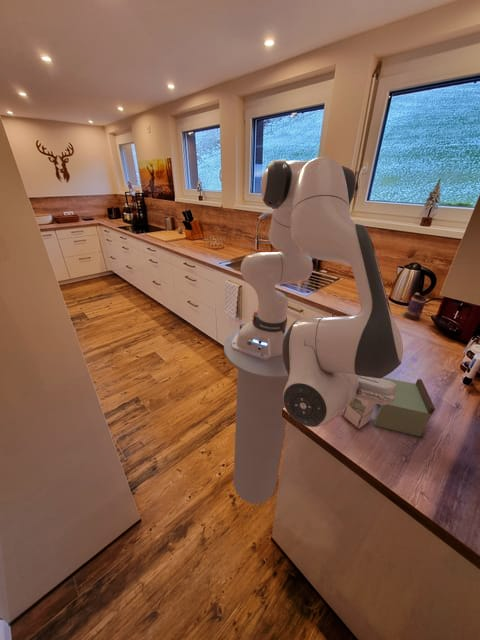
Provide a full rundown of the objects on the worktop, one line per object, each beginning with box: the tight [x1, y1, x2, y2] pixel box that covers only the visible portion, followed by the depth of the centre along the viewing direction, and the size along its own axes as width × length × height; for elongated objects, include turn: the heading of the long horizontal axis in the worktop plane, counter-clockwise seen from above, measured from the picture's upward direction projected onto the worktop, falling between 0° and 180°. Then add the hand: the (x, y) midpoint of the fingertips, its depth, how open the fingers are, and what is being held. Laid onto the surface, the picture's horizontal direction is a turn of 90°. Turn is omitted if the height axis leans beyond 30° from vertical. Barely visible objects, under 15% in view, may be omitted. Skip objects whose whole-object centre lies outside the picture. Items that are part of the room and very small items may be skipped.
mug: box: [404, 292, 427, 321], centre depth 138 cm, size 10×7×12 cm
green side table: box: [373, 376, 436, 437], centre depth 78 cm, size 12×12×11 cm
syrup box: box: [342, 397, 377, 429], centre depth 75 cm, size 6×6×14 cm
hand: (351, 373), depth 64 cm, fingers open, 8 cm apart
